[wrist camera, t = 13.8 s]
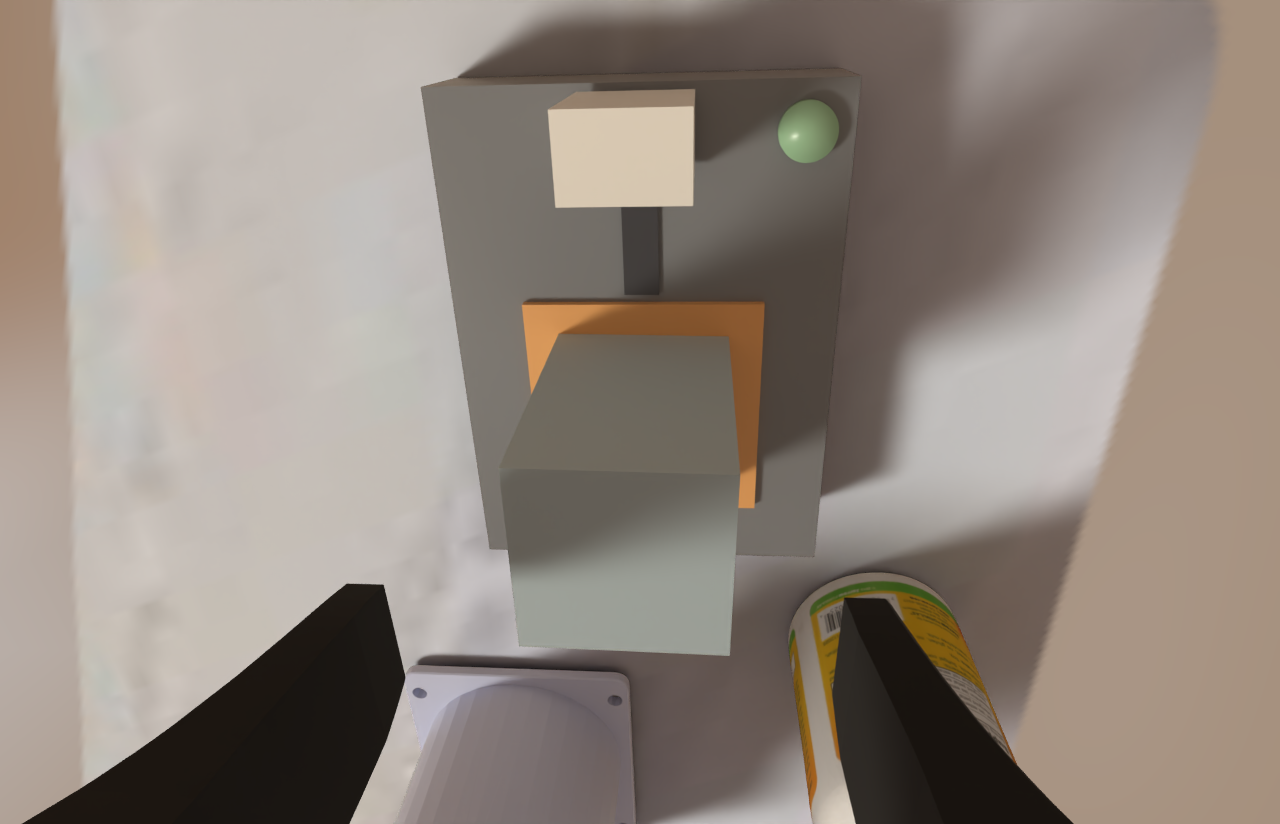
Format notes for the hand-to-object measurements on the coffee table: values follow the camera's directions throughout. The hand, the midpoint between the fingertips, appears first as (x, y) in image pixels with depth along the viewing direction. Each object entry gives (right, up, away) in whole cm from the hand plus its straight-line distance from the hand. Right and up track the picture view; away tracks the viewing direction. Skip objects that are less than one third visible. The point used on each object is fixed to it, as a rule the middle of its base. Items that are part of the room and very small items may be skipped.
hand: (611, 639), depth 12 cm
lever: (0, +9, +4) cm, 10 cm away
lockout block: (+1, +4, +7) cm, 8 cm away
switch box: (+1, +6, +8) cm, 11 cm away
